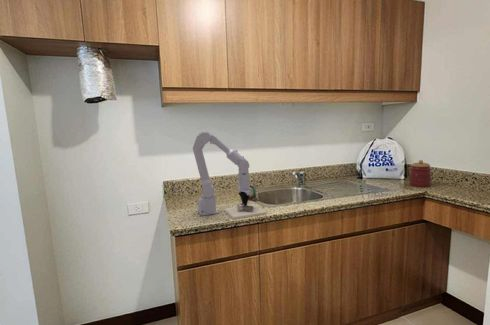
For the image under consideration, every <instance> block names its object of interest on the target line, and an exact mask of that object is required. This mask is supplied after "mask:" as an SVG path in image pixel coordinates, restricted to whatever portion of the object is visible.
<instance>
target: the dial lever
mask: <svg viewBox="0 0 490 325" xmlns="http://www.w3.org/2000/svg"><path fill="white" fill-rule="evenodd" d="M247 205H248V204H247ZM247 205H244V204H242V202H241V203H240V202H239V203H237V204H236V207H237V209H238V211H253V206H247Z"/></svg>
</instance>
